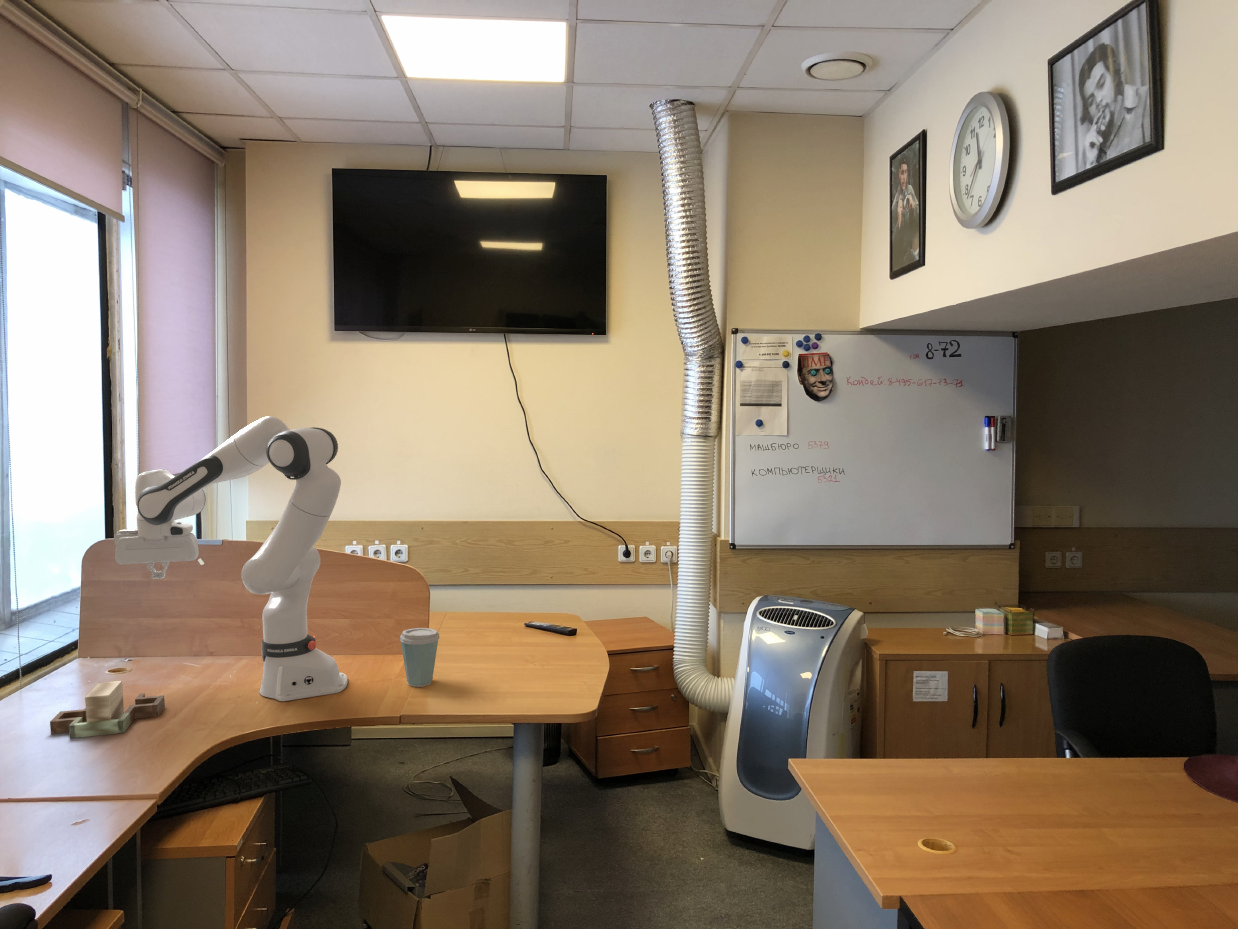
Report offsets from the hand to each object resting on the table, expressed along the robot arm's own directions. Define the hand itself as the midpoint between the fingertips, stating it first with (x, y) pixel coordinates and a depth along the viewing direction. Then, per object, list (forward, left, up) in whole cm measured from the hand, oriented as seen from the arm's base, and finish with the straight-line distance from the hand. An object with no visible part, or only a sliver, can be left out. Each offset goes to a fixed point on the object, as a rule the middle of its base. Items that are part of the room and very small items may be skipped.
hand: (158, 578), depth 232 cm
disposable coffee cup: (-69, +21, -29) cm, 78 cm away
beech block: (+6, +29, -29) cm, 42 cm away
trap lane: (+6, +27, -29) cm, 40 cm away
